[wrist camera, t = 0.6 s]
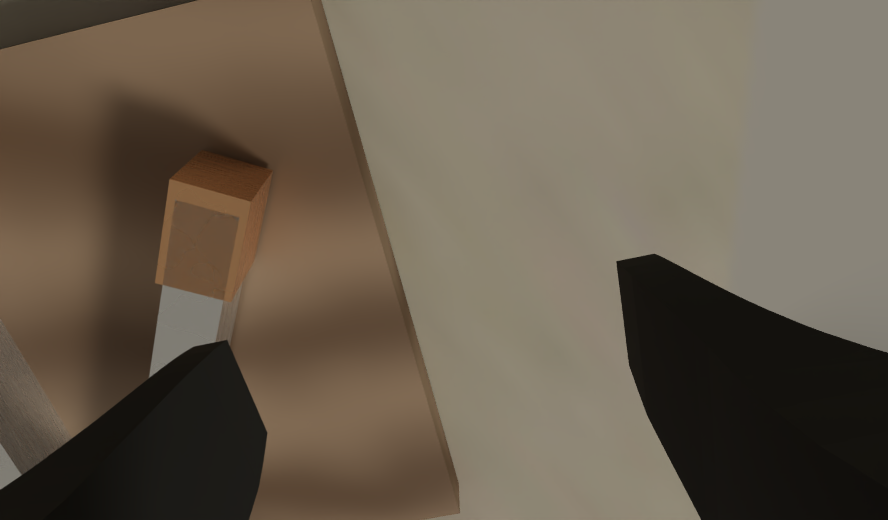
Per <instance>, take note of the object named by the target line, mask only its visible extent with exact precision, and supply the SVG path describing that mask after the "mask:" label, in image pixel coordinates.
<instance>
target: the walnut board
mask: <svg viewBox="0 0 888 520" xmlns="http://www.w3.org/2000/svg"><path fill="white" fill-rule="evenodd" d="M201 150H205V151H208V152H212V153H215V154H219V155H222V156H226V157H229V158H233V159H236V160H240V161H243V162H247V163H250V164H253V165H257V166H260V167H264V168H267V169H271V170H273V174H272V179H271V183H270V188H269V193H268V198H267V202H266V207H265V212H264V217H263V221H262V226H261V231H260V236H259V241H258V245H257V250H256V255H255V260H254V263H253V264H252V266H251V268H250V270H249V271H248V273H247V275H246V277H245V278H244V280H243V284H242V289H241V294H240V299H239V303H238V308H237V313H236V318H235V323H234V328H233V333H232V338H231V342H230V347H231V350H232V352H233V354H234V357H235V359H236V361H237V363H238V366H239V368H240V370H241V373H242V375H243V377H244V380H245V382H246V384H247V387H248V389H249V391H250V393H251V396H252V398H253V400H254V403H255V405H256V407H257V410H258V412H259V414H260V416H261V419H262V421H263V423H264V426H265V428H266V430H267V433H268V434H267V441H266V448H265V455H264V462H263V468H262V473H261V479H260V484H259V488H258V492H257V495H256V499H255V502H254V505H253V508H252V512H251V515H250V518H249V520H423V519H429V518H435V517H441V516H446V515H452V514H458V513H460V505H459V483H458V480H457V476H456V473H455V469H454V466H453V462H452V459H451V455H450V452H449V448H448V445H447V441H446V437H445V434H444V430H443V427H442V423H441V420H440V416H439V413H438V409H437V406H436V402H435V399H434V395H433V392H432V388H431V385H430V381H429V378H428V374H427V371H426V367H425V364H424V360H423V357H422V353H421V350H420V346H419V343H418V339H417V336H416V332H415V329H414V325H413V322H412V318H411V315H410V311H409V307H408V304H407V300H406V297H405V293H404V290H403V286H402V283H401V279H400V276H399V272H398V269H397V265H396V262H395V258H394V255H393V251H392V248H391V244H390V241H389V237H388V234H387V230H386V227H385V223H384V220H383V216H382V213H381V209H380V206H379V202H378V199H377V195H376V192H375V188H374V185H373V181H372V177H371V174H370V170H369V167H368V163H367V160H366V156H365V153H364V149H363V146H362V142H361V139H360V135H359V132H358V128H357V125H356V121H355V118H354V114H353V111H352V107H351V104H350V100H349V97H348V93H347V90H346V86H345V83H344V79H343V76H342V72H341V69H340V65H339V62H338V58H337V55H336V51H335V48H334V44H333V40H332V37H331V33H330V30H329V26H328V23H327V19H326V16H325V12H324V9H323V5H322V2H321V0H197V1H193V2H189V3H185V4H181V5H176V6H172V7H168V8H164V9H160V10H156V11H152V12H148V13H144V14H140V15H136V16H132V17H128V18H124V19H120V20H116V21H112V22H108V23H104V24H100V25H96V26H92V27H88V28H84V29H80V30H76V31H72V32H68V33H64V34H60V35H56V36H52V37H48V38H44V39H40V40H36V41H32V42H28V43H24V44H20V45H15V46H11V47H7V48H3V49H0V319H1V320H2V322H3V324H4V325H5V327H6V329H7V330H8V332H9V334H10V335H11V337H12V339H13V340H14V342H15V344H16V345H17V347H18V349H19V350H20V352H21V354H22V355H23V357H24V359H25V360H26V362H27V364H28V365H29V367H30V369H31V370H32V372H33V374H34V375H35V377H36V379H37V380H38V382H39V384H40V385H41V387H42V389H43V390H44V392H45V394H46V395H47V397H48V399H49V400H50V402H51V404H52V405H53V407H54V409H55V410H56V412H57V414H58V415H59V417H60V419H61V420H62V422H63V424H64V425H65V427H66V429H67V430H68V432H69V434H70V435H71V437H72V438H73V437H74V436H76V435H77V434H78V433H80V432H81V431H82V430H84V429H85V428H86V427H88V426H89V425H90V424H92V423H93V422H94V421H96V420H97V419H98V418H99V417H101V416H102V415H103V414H104V413H106V412H107V411H108V410H109V409H111V408H112V407H113V406H114V405H116V404H117V403H118V402H120V401H121V400H122V399H123V398H125V397H126V396H127V395H128V394H130V393H131V392H132V391H133V390H135V389H136V388H137V387H138V386H140V385H141V384H142V383H143V382H145V381H146V380H147V379H148V378H149V374H150V368H151V361H152V354H153V347H154V340H155V334H156V327H157V320H158V313H159V306H160V299H161V293H162V286H163V285H161V284H157V283H155V279H156V272H157V265H158V257H159V250H160V243H161V236H162V229H163V222H164V215H165V208H166V201H167V193H168V186H169V179H170V178H171V177H172V176H173V175H175V174H176V173H177V172H178V171H179V170H180V169H181V168H182V167H183V166H185V165H186V164H187V163H188V162H189V161H190V160H191V159H192V158H193V157H195V156H196V155H197V154H198V153H199V152H200V151H201Z"/></svg>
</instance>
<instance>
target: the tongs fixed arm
mask: <svg viewBox="0 0 888 520" xmlns="http://www.w3.org/2000/svg"><path fill="white" fill-rule="evenodd" d="M70 439H72V437H71V435H70V434H69V432H68V430H67V429H66V427H65V425H64V424H63V422H62V420H61V419H60V417H59V415H58V414H57V412H56V410H55V409H54V407H53V405H52V404H51V402H50V400H49V399H48V397H47V395H46V394H45V392H44V390H43V389H42V387H41V385H40V384H39V382H38V380H37V379H36V377H35V375H34V374H33V372H32V370H31V369H30V367H29V365H28V364H27V362H26V360H25V359H24V357H23V355H22V354H21V352H20V350H19V349H18V347H17V345H16V344H15V342H14V340H13V339H12V337H11V335H10V334H9V332H8V330H7V329H6V327H5V325H4V324H3V322H2V320H1V319H0V489H2V488H3V487H5V486H6V485H8V484H9V483H11V482H12V481H14V480H15V479H17V478H18V477H20V476H21V475H23V474H24V473H25V472H27V471H28V470H30V469H31V468H33V467H34V466H35V465H37V464H38V463H40V462H41V461H42V460H44V459H45V458H46V457H48V456H49V455H50V454H52V453H53V452H54V451H56V450H57V449H58V448H60V447H61V446H62V445H64V444H65V443H66V442H68V441H69V440H70Z"/></svg>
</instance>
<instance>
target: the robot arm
mask: <svg viewBox="0 0 888 520" xmlns="http://www.w3.org/2000/svg"><path fill="white" fill-rule="evenodd" d="M616 262H617V271H618V279H619V287H620V295H621V303H622V311H623V319H624V327H625V336H626V344H627V352H628V360H629V366H630V369H631V372H632V375H633V377H634V380H635V383H636V386H637V389H638V392H639V394H640V397H641V400H642V402H643V405H644V408H645V410H646V413H647V416H648V418H649V420H650V422H651V424H652V426H653V428H654V430H655V432H656V434H657V436H658V437H659V439H660V441H661V443H662V445H663V447H664V449H665V451H666V453H667V455H668V457H669V459H670V461H671V463H672V465H673V466H674V468H675V470H676V472H677V474H678V476H679V478H680V480H681V482H682V484H683V486H684V488H685V489H686V491H687V493H688V495H689V497H690V499H691V501H692V503H693V505H694V507H695V509H696V510H697V512H698V514H699V516H700V518H701V520H888V353H887V352H883V351H880V350H876V349H873V348H870V347H867V346H863V345H860V344H857V343H855V342H851V341H848V340H845V339H842V338H839V337H836V336H833V335H830V334H827V333H824V332H822V331H819V330H816V329H814V328H811V327H808V326H805V325H803V324H800V323H798V322H796V321H793V320H791V319H788V318H786V317H784V316H781V315H779V314H776V313H774V312H772V311H769V310H767V309H765V308H762V307H760V306H758V305H756V304H754V303H751V302H749V301H747V300H745V299H743V298H740V297H739V296H737V295H735V294H732V293H730V292H728V291H726V290H724V289H722V288H720V287H718V286H716V285H715V284H713V283H711V282H709V281H707V280H705V279H703V278H701V277H699V276H697V275H695V274H693V273H692V272H690V271H688V270H686V269H684V268H682V267H680V266H678V265H677V264H675V263H673V262H671V261H669V260H667V259H665V258H663V257H661V256H659V255H656V254H651V255H646V256H641V257H636V258H631V259H626V260H621V261H616ZM267 434H268V433H267V430H266V428H265V426H264V423H263V421H262V419H261V416H260V414H259V412H258V410H257V407H256V405H255V403H254V400H253V398H252V396H251V393H250V391H249V389H248V387H247V384H246V382H245V380H244V377H243V375H242V373H241V370H240V368H239V366H238V363H237V361H236V359H235V357H234V354H233V352H232V350H231V347H230V345H229V343H228V340H224V341H219V342H214V343H209V344H204V345H199V346H194V347H192V348H190V349H189V350H187V351H185V352H184V353H182V354H181V355H179V356H178V357H176V358H175V359H173V360H172V361H171V362H169V363H168V364H167V365H165V366H164V367H163V368H161V369H160V370H159V371H157V372H156V373H155V374H154V375H152V376H151V377H150V378H148V379H147V380H146V381H145V382H143V383H142V384H141V385H140V386H138V387H137V388H136V389H135V390H133V391H132V392H131V393H130V394H128V395H127V396H126V397H125V398H123V399H122V400H121V401H120V402H118V403H117V404H116V405H114V406H113V407H112V408H111V409H109V410H108V411H107V412H106V413H104V414H103V415H102V416H101V417H99V418H98V419H97V420H96V421H94V422H93V423H92V424H90V425H89V426H88V427H86V428H85V429H84V430H82V431H81V432H80V433H78V434H77V435H76V436H74V437H73V438H72V439H70V440H69V441H68V442H66V443H65V444H64V445H62V446H61V447H60V448H58V449H57V450H56V451H54V452H53V453H52V454H50V455H49V456H48V457H46V458H45V459H44V460H42V461H41V462H40V463H38V464H37V465H35V466H34V467H33V468H31V469H30V470H28V471H27V472H25V473H24V474H23V475H21V476H20V477H18V478H17V479H15V480H14V481H12V482H11V483H9V484H8V485H6V486H5V487H3V488H2V489H0V520H249V518H250V515H251V512H252V508H253V505H254V502H255V499H256V495H257V492H258V488H259V484H260V479H261V473H262V468H263V462H264V455H265V448H266V441H267Z"/></svg>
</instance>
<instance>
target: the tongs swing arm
mask: <svg viewBox="0 0 888 520" xmlns="http://www.w3.org/2000/svg"><path fill="white" fill-rule="evenodd" d="M272 174H273V170H271V169H267V168H264V167H260V166H257V165H253V164H250V163H247V162H243V161H240V160H236V159H233V158H229V157H226V156H222V155H219V154H215V153H212V152H208V151H205V150H201V151H200V152H199V153H198V154H197V155H196V156H195V157H193V158H192V159H191V160H190V161H189V162H188V163H187V164H186V165H185V166H183V167H182V168H181V169H180V170H179V171H178V172H177V173H176V174H175V175H173V176H172V177H171V178H170V179H169V186H168V193H167V201H166V208H165V215H164V222H163V229H162V236H161V243H160V250H159V257H158V265H157V272H156V279H155V283H157V284H161V285H163V286H162V293H161V299H160V306H159V313H158V320H157V327H156V334H155V340H154V347H153V354H152V361H151V368H150V374H149V378H150V377H151V376H152V375H154V374H155V373H156V372H157V371H159V370H160V369H161V368H163V367H164V366H165V365H167V364H168V363H169V362H171V361H172V360H173V359H175V358H176V357H178V356H179V355H181V354H182V353H184V352H185V351H187V350H189V349H190V348H192V347H194V346H199V345H204V344H209V343H214V342H219V341H224V340H228V343H229V345H230V342H231V338H232V333H233V328H234V323H235V318H236V313H237V308H238V303H239V299H240V294H241V289H242V284H243V280H244V278H245V277H246V275H247V273H248V271H249V270H250V268H251V266H252V264H253V263H254V260H255V255H256V250H257V245H258V241H259V236H260V231H261V226H262V221H263V217H264V212H265V207H266V202H267V198H268V193H269V188H270V183H271V179H272Z"/></svg>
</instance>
